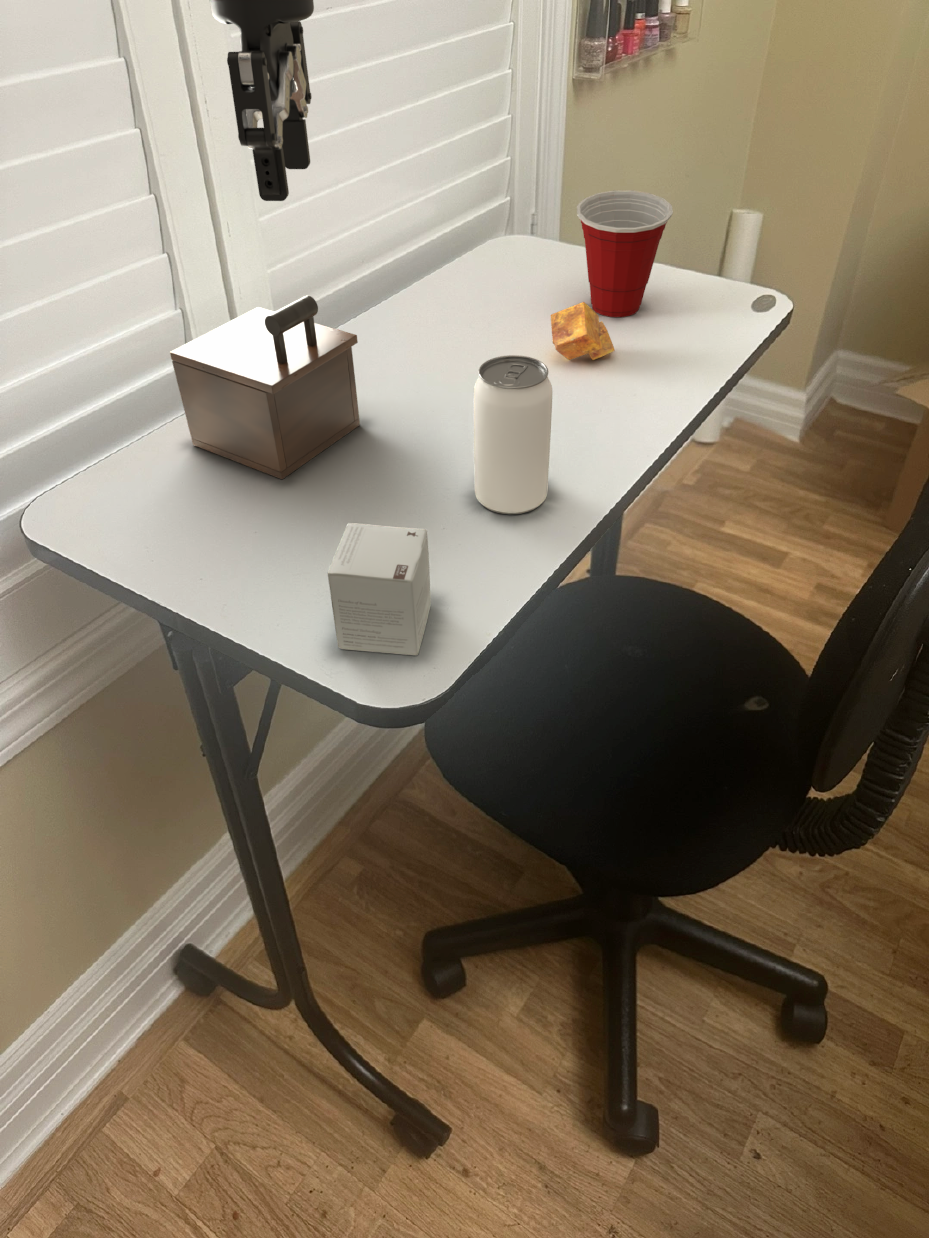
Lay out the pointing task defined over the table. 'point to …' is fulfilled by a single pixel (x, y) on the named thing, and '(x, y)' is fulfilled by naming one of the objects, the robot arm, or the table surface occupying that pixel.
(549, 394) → the can
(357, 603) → the product carton
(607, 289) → the plastic cup
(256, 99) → the robot arm
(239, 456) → the chest
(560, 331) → the pyrite
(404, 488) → the table surface
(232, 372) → the lid
